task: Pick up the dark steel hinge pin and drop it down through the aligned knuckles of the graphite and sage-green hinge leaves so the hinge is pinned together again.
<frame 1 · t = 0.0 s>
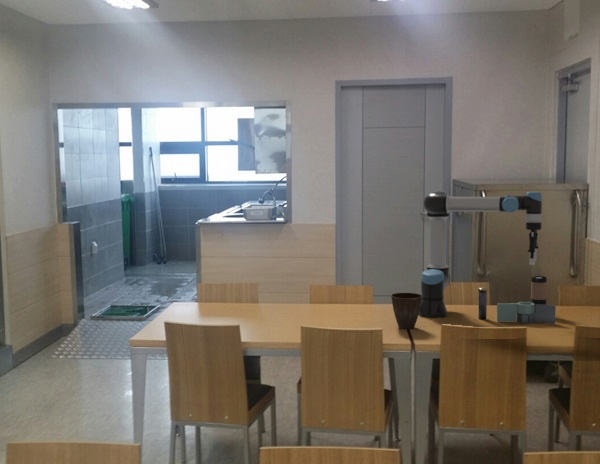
hand: (532, 262, 349), 28 cm above the table, tool pointing down, fingers open, 13 cm apart
travel mug: (538, 315, 355), on the table
hinge leaf fixed: (525, 321, 339), on the table
hinge pin: (482, 318, 347), on the table
plant pot: (406, 327, 331), on the table
hinge leaf swing: (515, 312, 339), point 5 cm above the table, hinge at 20.0°
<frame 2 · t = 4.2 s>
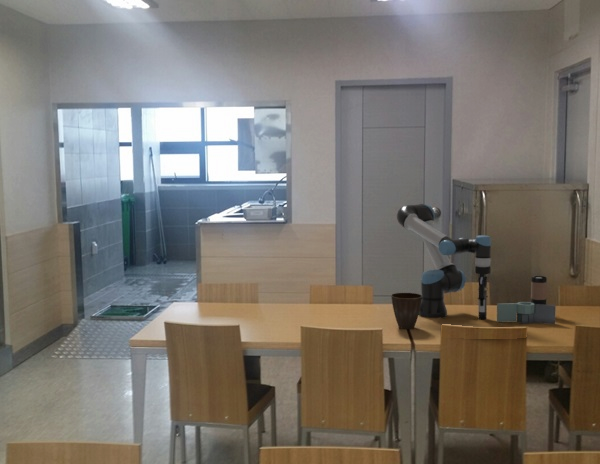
hand: (482, 310, 347), 4 cm above the table, tool pointing down, fingers closed on hinge pin, 4 cm apart
hinge pin: (482, 318, 347), on the table, touching gripper
everything else where it was.
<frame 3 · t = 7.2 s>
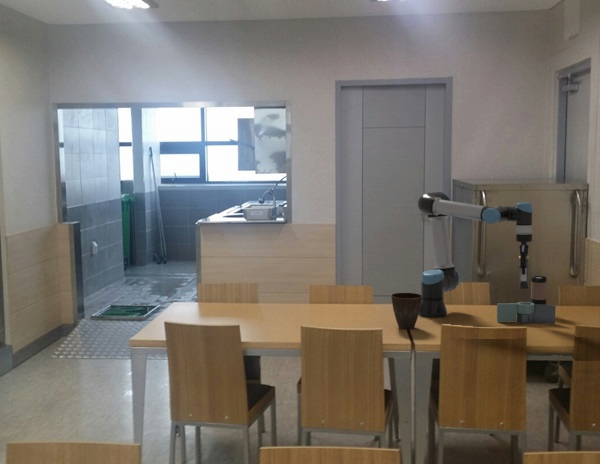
hand: (524, 280, 337), 21 cm above the table, tool pointing down, fingers closed on hinge pin, 4 cm apart
hinge pin: (523, 288, 338), point 17 cm above the table, touching gripper
everything else where it was.
when the fingers open (11 cm above the table, at t = 10.5 s): hinge pin drops 6 cm, resting in hinge leaf fixed.
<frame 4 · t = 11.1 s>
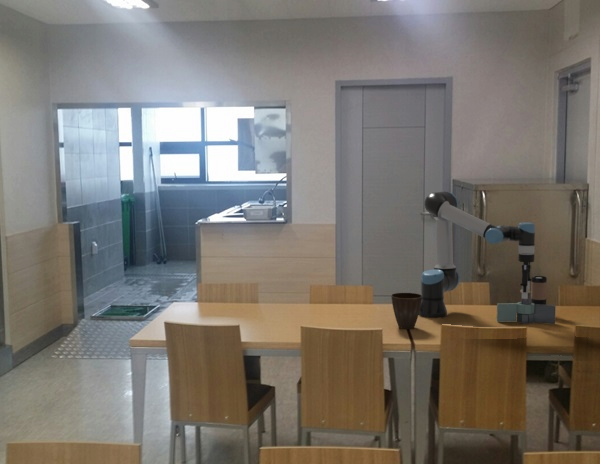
hand: (525, 296, 338), 13 cm above the table, tool pointing down, fingers open, 12 cm apart
hinge pin: (525, 321, 340), resting in hinge leaf fixed
everything else where it was.
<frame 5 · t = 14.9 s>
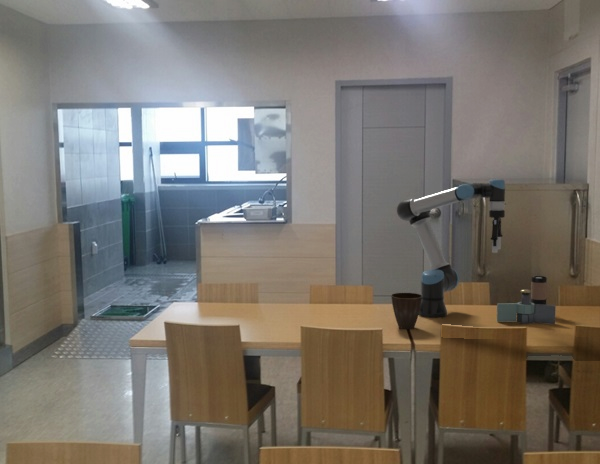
hand: (496, 251, 346), 35 cm above the table, tool pointing down, fingers open, 13 cm apart
nothing on the table moved.
at the end: hinge pin 0.3 cm off-centre on the hinge leaf fixed, point 0.0 cm above the hinge leaf fixed's base; hinge pin tilted 0°; the gripper is holding nothing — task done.
